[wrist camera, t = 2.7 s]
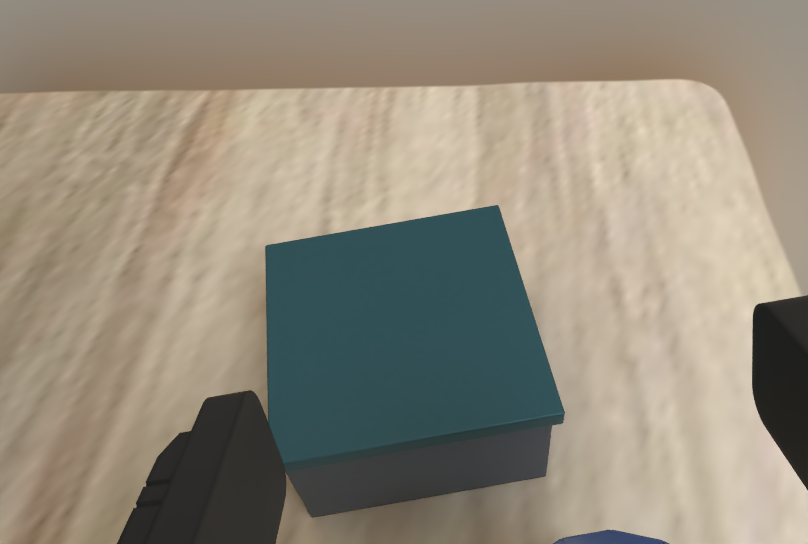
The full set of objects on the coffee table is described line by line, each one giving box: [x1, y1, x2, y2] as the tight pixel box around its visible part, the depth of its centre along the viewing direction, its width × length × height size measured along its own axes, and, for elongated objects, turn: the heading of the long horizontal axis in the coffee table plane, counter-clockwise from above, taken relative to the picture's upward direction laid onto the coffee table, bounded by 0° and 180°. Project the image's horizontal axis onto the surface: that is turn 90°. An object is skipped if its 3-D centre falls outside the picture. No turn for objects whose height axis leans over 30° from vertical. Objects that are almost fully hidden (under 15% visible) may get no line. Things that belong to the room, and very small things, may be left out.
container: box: [265, 205, 565, 517], centre depth 31 cm, size 11×11×6 cm
